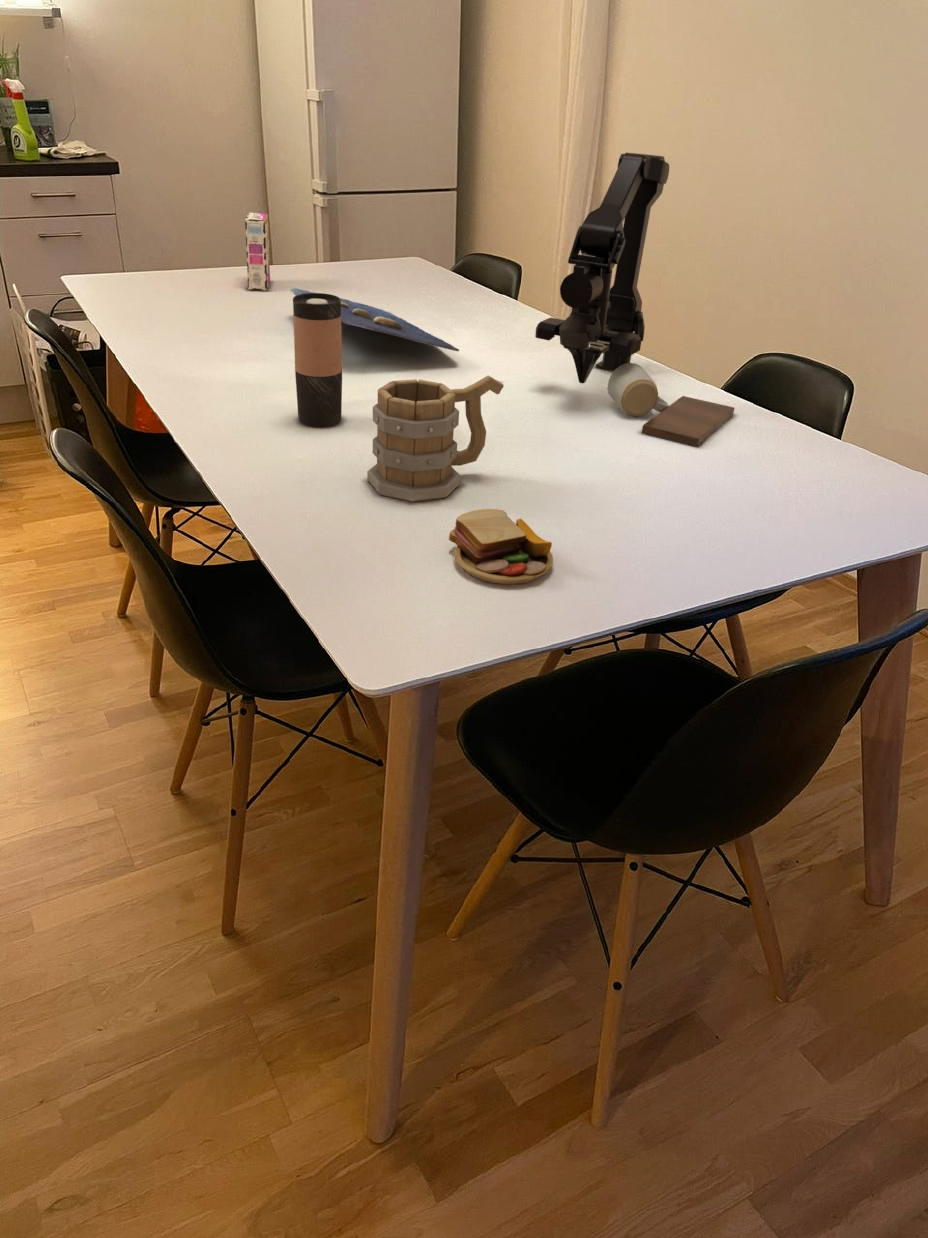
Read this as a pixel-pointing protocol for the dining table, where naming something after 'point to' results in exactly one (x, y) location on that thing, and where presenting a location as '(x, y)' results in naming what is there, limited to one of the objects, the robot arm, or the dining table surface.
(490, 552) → the toy sandwich meal
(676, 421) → the walnut board
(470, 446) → the tankard
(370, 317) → the serving platter
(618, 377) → the ceramic mug
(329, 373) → the travel mug
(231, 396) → the dining table surface
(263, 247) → the candy bar box
